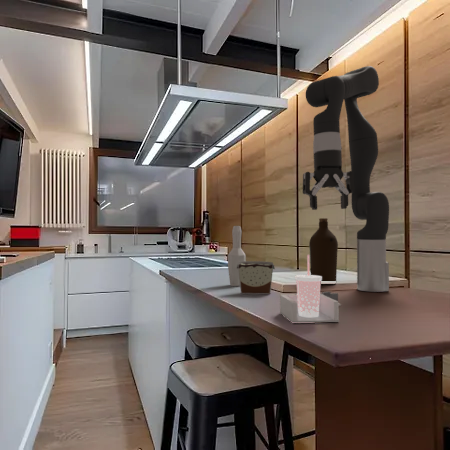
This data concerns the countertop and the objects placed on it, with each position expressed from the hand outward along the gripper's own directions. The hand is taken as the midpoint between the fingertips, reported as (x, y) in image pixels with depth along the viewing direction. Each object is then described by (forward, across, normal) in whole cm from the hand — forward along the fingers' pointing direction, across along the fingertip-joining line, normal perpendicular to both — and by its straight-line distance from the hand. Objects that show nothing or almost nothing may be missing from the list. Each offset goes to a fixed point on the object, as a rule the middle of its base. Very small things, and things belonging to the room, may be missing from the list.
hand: (329, 209), depth 104 cm
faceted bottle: (+26, +21, -37) cm, 50 cm away
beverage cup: (+25, +13, +16) cm, 32 cm away
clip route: (+26, +6, +5) cm, 27 cm away
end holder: (+26, +13, +16) cm, 33 cm away
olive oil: (+27, -13, -38) cm, 49 cm away
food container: (+26, +17, -21) cm, 38 cm away
